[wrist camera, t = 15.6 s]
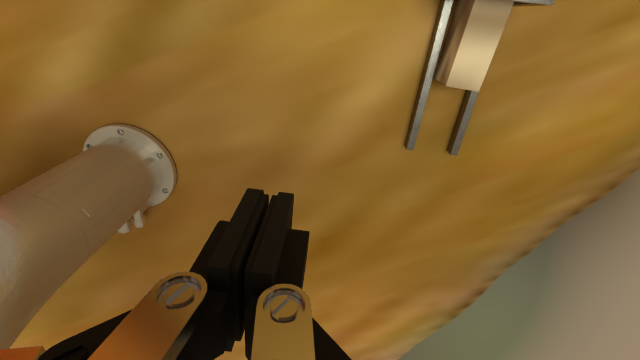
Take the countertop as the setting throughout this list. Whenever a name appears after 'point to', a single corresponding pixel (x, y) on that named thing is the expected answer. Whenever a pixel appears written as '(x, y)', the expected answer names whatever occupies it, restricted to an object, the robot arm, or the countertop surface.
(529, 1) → the end cap
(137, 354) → the robot arm
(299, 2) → the countertop surface
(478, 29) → the beige rectangular block
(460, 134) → the guide channel
